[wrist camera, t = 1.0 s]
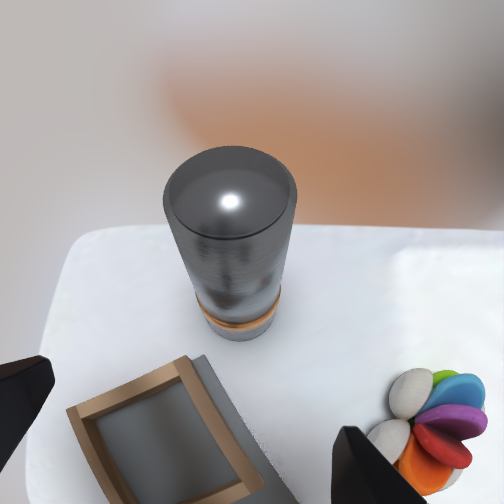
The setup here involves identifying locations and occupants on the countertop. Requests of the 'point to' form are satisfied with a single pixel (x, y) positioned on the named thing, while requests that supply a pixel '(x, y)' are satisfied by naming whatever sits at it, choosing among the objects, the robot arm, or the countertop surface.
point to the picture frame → (174, 442)
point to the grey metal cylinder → (233, 234)
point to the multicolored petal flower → (431, 427)
